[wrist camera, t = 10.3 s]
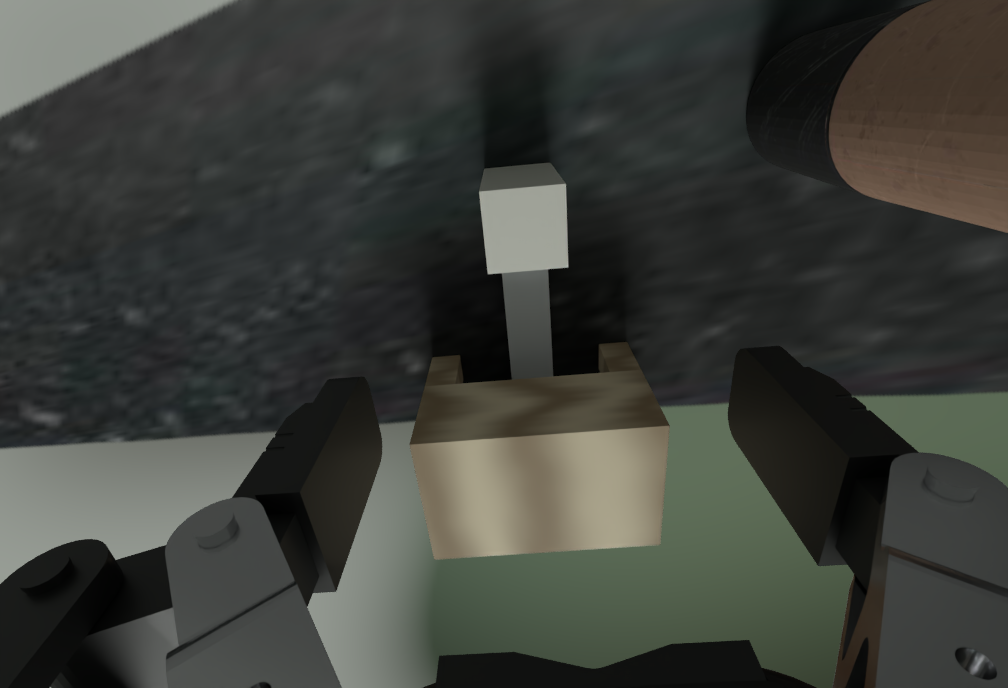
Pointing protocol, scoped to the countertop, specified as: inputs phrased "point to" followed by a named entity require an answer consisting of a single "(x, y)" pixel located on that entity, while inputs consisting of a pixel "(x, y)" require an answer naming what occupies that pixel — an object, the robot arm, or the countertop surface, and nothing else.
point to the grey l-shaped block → (525, 255)
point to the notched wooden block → (541, 460)
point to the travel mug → (896, 108)
